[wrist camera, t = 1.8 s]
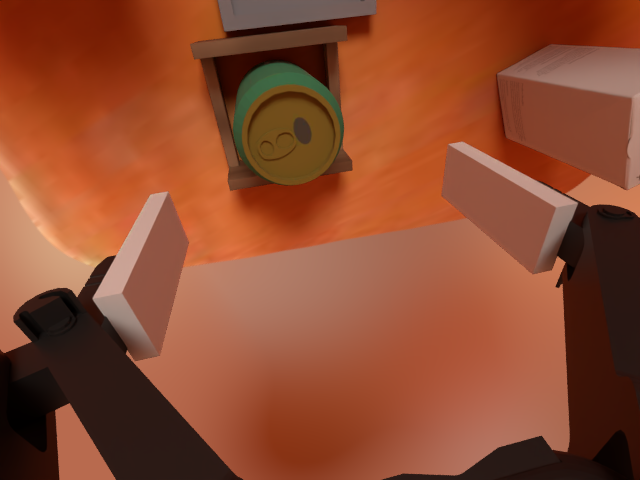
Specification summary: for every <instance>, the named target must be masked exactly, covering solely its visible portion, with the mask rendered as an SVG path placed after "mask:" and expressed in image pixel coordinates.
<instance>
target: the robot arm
mask: <svg viewBox="0 0 640 480" xmlns="http://www.w3.org/2000/svg"><path fill="white" fill-rule="evenodd" d="M442 196H443V197H444V198H445V199H446V200H447V201H448V202H450V203H451V204H452V205H453V206H454V207H455V208H456V209H458V210H459V211H460V212H461V213H462V214H463V215H465V216H466V217H467V218H468V219H469V220H470V221H472V222H473V223H474V224H475V225H476V226H477V227H479V228H480V229H481V230H482V231H483V232H484V233H485V234H487V235H488V236H489V237H490V238H491V239H493V240H494V241H495V242H496V243H497V244H498V245H499V246H500V247H502V248H503V249H504V250H506V252H507V253H509V254H510V255H511V256H512V257H513V258H514V259H516V260H517V261H518V262H519V263H520V264H521V265H523V266H524V267H525V268H526V269H527V270H528V271H529V272H531V273H532V274H536V273H541V272H545V271H550V270H552V268H553V266H554V263H555V261H556V258H557V256H559V257H560V258H561V259H562V260H564V261H565V262H566V263H565V265H564V268H563V270H562V272H561V275H560V277H559V279H558V282H557V284H556V287H557V288H559V287H560V285H561V284H563V298H564V299H563V300H564V321H565V343H566V363H567V385H568V406H569V426H570V442H569V448H568V452H562V451H556V450H552V449H551V448H550V446H549V445H548V444H547V442H546V441H545V440H544V438H543V437H542V436H539V437H535V438H531V439H528V440H524V441H521V442H517V443H514V444H510V445H506V446H502V447H499V448H497V449H496V450H494V451H493V452H492V453H490V454H489V455H487V456H486V457H485V458H483V459H482V460H480V461H479V462H478V463H476V464H475V465H474V466H472V467H471V468H469V469H468V470H467V471H465V472H464V473H462V474H460V475H455V476H451V475H450V476H449V475H423V474H401V475H397V476H393V477H390V478H386V479H383V480H640V218H639V217H638V216H637V215H636V214H635V213H633V212H631V211H629V210H627V209H624V208H621V207H618V206H612V205H593V206H591V207H589V206H587V205H585V204H583V203H581V202H580V201H578V200H576V199H574V198H572V197H570V196H568V195H566V194H564V193H563V194H562V192H561V191H559V190H557V189H553V187H551V186H549V185H547V184H545V183H543V182H541V181H537V180H534V179H532V178H530V177H528V176H526V175H524V174H523V173H521V172H519V171H517V170H515V169H513V168H511V167H509V166H507V165H506V164H504V163H502V162H500V161H498V160H496V159H494V158H492V157H491V156H489V155H487V154H485V153H483V152H481V151H479V150H477V149H476V148H474V147H472V146H470V145H468V144H466V143H464V142H458V143H452V144H448V148H447V156H446V164H445V172H444V180H443V188H442ZM188 244H189V241H188V239H187V236H186V234H185V231H184V229H183V226H182V224H181V221H180V219H179V216H178V214H177V211H176V209H175V206H174V204H173V201H172V199H171V196H170V194H169V191H168V192H162V193H156V194H150V196H149V198H148V200H147V202H146V203H145V205H144V207H143V209H142V211H141V212H140V214H139V216H138V218H137V220H136V221H135V223H134V225H133V227H132V229H131V230H130V232H129V234H128V236H127V238H126V239H125V241H124V243H123V245H122V247H121V248H120V250H119V252H118V254H117V255H116V256H110V257H107V258H106V259H104V260H103V261H102V262H101V263H100V264H99V265H97V266H96V268H95V269H94V271H93V272H92V274H91V276H90V279H88V281H87V282H86V284H85V287H83V289H82V290H81V292H80V294H79V295H78V297H76V296H75V294H74V293H73V292H72V290H70V289H68V288H57V289H53V290H49V291H46V292H44V293H41V294H39V295H37V296H35V297H34V298H32V299H30V300H29V301H27V302H26V303H24V305H22V306H21V307H20V308H19V309H18V310H17V312H16V313H15V315H14V317H13V318H14V323H15V324H16V325H17V326H18V327H19V328H20V329H21V330H22V331H23V332H24V334H25V335H26V336H27V337H28V338H29V339H30V340H31V341H32V342H31V343H28V344H26V345H24V346H21V347H18V348H16V349H14V350H11V351H9V352H6V353H3V352H2V351H1V350H0V480H59V466H58V450H57V433H56V416H55V410H56V409H58V408H60V407H62V406H64V405H66V404H69V403H70V404H71V406H72V408H73V409H74V411H75V413H76V414H77V416H78V418H79V419H80V421H81V422H82V424H83V426H84V427H85V429H86V431H87V432H88V434H89V436H90V437H91V439H92V440H93V442H94V444H95V446H96V447H97V449H98V450H99V452H100V454H101V456H102V457H103V459H104V460H105V462H106V464H107V465H108V467H109V469H110V470H111V472H112V474H113V475H114V477H115V479H116V480H243V479H242V478H240V477H237V476H236V475H235V474H234V473H233V472H232V471H231V470H230V469H229V468H228V466H227V465H226V464H225V463H224V462H223V461H222V460H221V459H220V458H219V457H218V455H217V454H216V453H215V452H214V451H213V450H212V449H211V448H210V446H209V445H207V443H206V442H205V441H204V440H203V439H202V438H201V437H200V436H199V434H198V433H197V432H196V431H195V430H194V429H193V428H192V427H191V426H190V425H189V424H188V422H187V421H186V420H185V419H184V418H183V417H182V416H181V415H180V414H179V412H178V411H177V410H176V409H175V408H174V407H173V406H172V405H171V404H170V402H169V401H168V400H167V399H166V398H165V397H164V396H163V395H162V394H161V393H160V391H159V390H158V389H157V388H156V387H155V386H154V385H153V384H152V383H151V382H150V380H149V379H147V377H146V376H145V375H144V374H143V373H142V372H141V371H140V369H139V368H138V367H137V366H136V365H135V364H134V363H133V362H132V361H131V359H130V358H129V357H128V356H127V355H126V352H127V350H128V352H129V353H130V355H131V356H132V357H133V359H134V360H135V361H138V360H143V359H147V358H152V357H157V356H160V353H161V349H162V345H163V341H164V338H165V334H166V330H167V326H168V322H169V318H170V314H171V310H172V306H173V303H174V298H175V295H176V291H177V287H178V283H179V279H180V275H181V271H182V268H183V264H184V260H185V256H186V252H187V248H188Z"/></svg>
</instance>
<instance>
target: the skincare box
mask: <svg viewBox="0 0 640 480" xmlns="http://www.w3.org/2000/svg"><path fill="white" fill-rule="evenodd" d="M497 81H498V88H499V95H500V102H501V108H502V115H503V122H504V128H505V135H506V138H508V139H510V140H512V141H515V142H517V143H519V144H522V145H524V146H527V147H529V148H531V149H534V150H536V151H538V152H541V153H543V154H545V155H548V156H550V157H552V158H555V159H557V160H559V161H562V162H564V163H566V164H569V165H571V166H573V167H576V168H578V169H580V170H583V171H585V172H587V173H590V174H592V175H595V176H597V177H599V178H602V179H604V180H606V181H608V182H611V183H613V184H615V185H617V186H620V187H621V188H623V189H625V190H629V189H631V188H633V187H635V186H637V185H639V184H640V49H637V48H617V47H597V46H576V45H557V44H550V45H548V46H546V47H545V48H543V49H541V50H539V51H537V52H536V53H534V54H532V55H530V56H528V57H527V58H525V59H523V60H521V61H519V62H518V63H516V64H514V65H512V66H510V67H508V68H507V69H505V70H503V71H501V72H499V73H498V74H497Z"/></svg>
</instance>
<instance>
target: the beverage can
mask: <svg viewBox="0 0 640 480" xmlns="http://www.w3.org/2000/svg"><path fill="white" fill-rule="evenodd" d="M233 134H234V141H235V145H236V148H237V150H238V153H239V155H240V157H241V158H242V160H243V162H244V163H245V164H246V165H247V167H248V168H249V169H250V170H251V171H252V172H254V173H255V174H256V175H257V176H259V177H261V178H262V179H264V180H266V181H269V182H271V183H275V184H279V185H298V184H303V183H306V182H309V181H311V180H313V179H315V178H317V177H318V176H320V175H321V174H322V173H324V172H325V171H326V170H327V169H328V168H329V167H330V166H331V164H332V163H333V162H334V160H335V159H336V157H337V155H338V153H339V151H340V148H341V145H342V141H343V135H344V123H343V117H342V112H341V110H340V107H339V105H338V103H337V101H336V99H335V97H334V96H333V95H332V93H331V92H330V91H329V90H328V89H327V88H326V87H325V86H324V85H323V84H322V83H320V82H319V81H318V80H316V79H315V78H314V77H312V76H311V75H310V74H308V73H307V72H306V71H305V70H303V69H302V68H300V67H299V66H297V65H296V64H294V63H291V62H289V61H284V60H268V61H265V62H262V63H260V64H258V65H256V66H254V67H253V68H252V69H251V70H249V71H248V73H247V74H246V75H245V76H244V78H243V79H242V81H241V83H240V85H239V88H238V92H237V97H236V105H235V114H234V124H233Z"/></svg>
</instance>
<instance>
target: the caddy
mask: <svg viewBox="0 0 640 480" xmlns="http://www.w3.org/2000/svg"><path fill="white" fill-rule="evenodd" d="M340 41H347V26H325V27H316V28H308V29H299V30H291V31H282V32H274V33H265V34H257V35H248V36H240V37H231V38H223V39H214V40H206V41H198V42H195V43H192V44H190V46H191V49H192V53H193V57H194V59H201V63H202V67H203V71H204V75H205V78H206V82H207V86H208V90H209V93H210V97H211V101H212V105H213V108H214V112H215V116H216V120H217V124H218V127H219V131H220V135H221V139H222V142H223V146H224V150H225V154H226V158H227V161H228V165H229V173H228V184H229V188H230V191H231V190H237V189H243V188H249V187H255V186H261V185H267V184H273V183H271V182H269V181H266V180H264V179H262V178H261V177H259V176H257V175H256V174H255V173H254V172H252V171H251V170H250V169H249V168H248V167H247V165H246V164H245V163H244V162H243V160H242V161H239V158H238V154H237V150H236V146H235V142H234V138H233V133H232V129H231V125H230V121H229V117H228V113H227V109H226V105H225V101H224V97H223V92H222V88H221V84H220V80H219V76H218V72H217V68H216V64H215V60H214V57H218V56H226V55H234V54H242V53H250V52H258V51H267V50H275V49H283V48H291V47H299V46H307V45H315V44H323V49H324V62H325V75H326V88H327V89H328V90H329V91H330V92H331V93H332V95H333V96H334V97H335V99H336V101H337V103H338V105H339V107H340V110H341V100H340V82H339V64H338V45H337V42H340ZM346 171H352V160H351V159H350V157H349V156H348V155H347V154H346V152H345V151H344V150H343V141H342V145H341V148H340V151H339V153H338V155H337V157H336V159H335V160H334V162H333V163H332V164H331V166H330V167H329V168H328V169H327V170H326V171H325V172H324V173H322V174H321V175H328V174H334V173H340V172H346ZM321 175H320V176H321Z"/></svg>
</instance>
